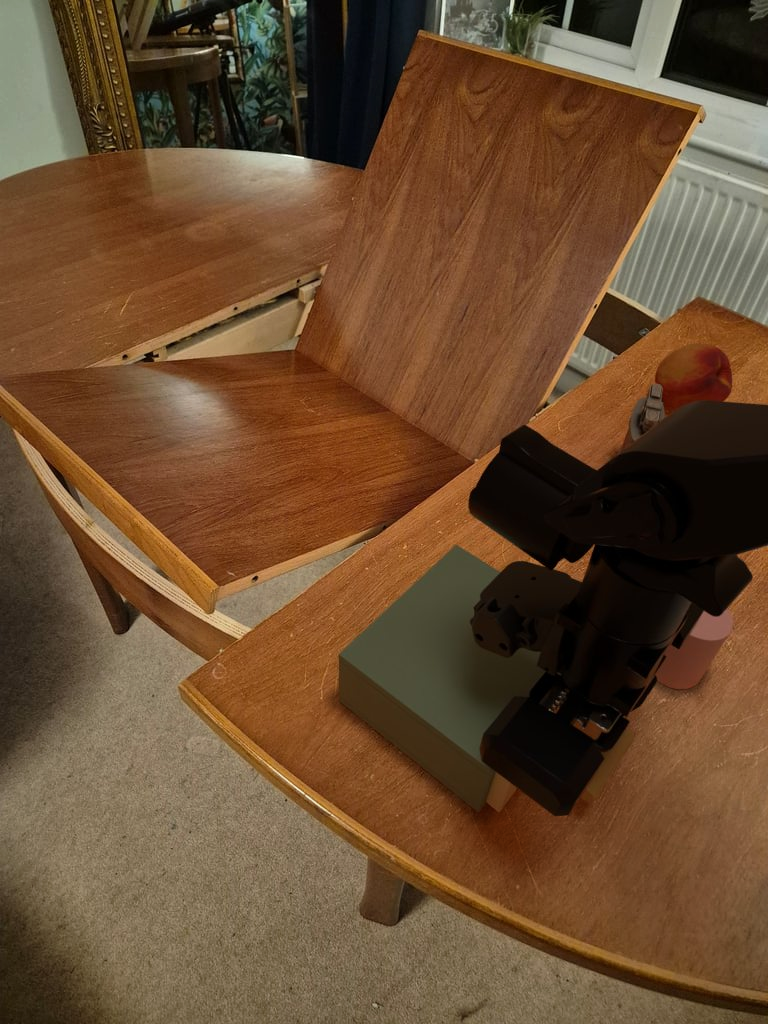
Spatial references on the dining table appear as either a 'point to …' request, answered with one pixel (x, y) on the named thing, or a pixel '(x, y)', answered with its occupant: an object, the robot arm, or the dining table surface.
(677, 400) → the fruit
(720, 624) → the red cylinder
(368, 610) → the dining table surface
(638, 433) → the brown elongated piece
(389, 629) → the cabinet
